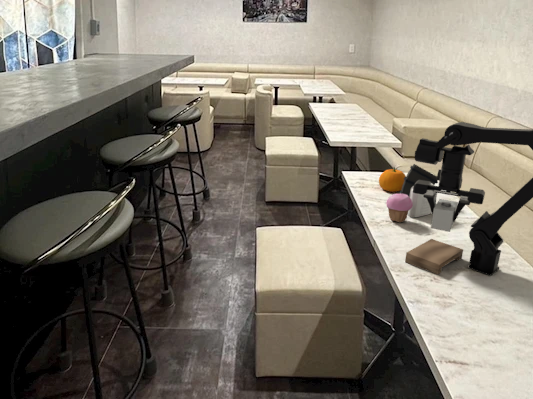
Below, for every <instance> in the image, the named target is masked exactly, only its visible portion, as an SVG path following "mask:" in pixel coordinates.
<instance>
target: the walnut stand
mask: <svg viewBox="0 0 533 399" xmlns="http://www.w3.org/2000/svg"><path fill="white" fill-rule="evenodd" d="M463 254H464V249H463V248H460V247H457V246H454V245H451V244H447V243H446V242H441V241H440V240H437V239H433V238H431V239H429V240H426V241H425V242H424V243H421V244H419V245H418V246H416V247H415V248H412V249H411V250H408V251H407V252H406V253H405V263H407V264H409V265H412V266H415V267H417V268H420V269H422V270H425V271H427V272H430V273H432V274H436V275H439V274H441V273H442V270H443V267H445V266H447V265H448V264H450V263H452V262H453V261H454V260H455V261H458V262H459V261H461V260H462V258H463Z"/></svg>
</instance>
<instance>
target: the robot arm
mask: <svg viewBox="0 0 533 399" xmlns="http://www.w3.org/2000/svg"><path fill="white" fill-rule="evenodd" d="M418 142H419V143H418V144H417V146H416V149H415V151H414V161H415V162H417V163H422V164H423V163H424V164H427V165H428V164H430V165H434V166H436V165H437V164H438V163H441V166H440V167H441V169H438V171H437V175H436V176H437V180H438V181H439V182H438V185H434V186H433V185H431V182H430V181H424V180H418V181H417V182H416V183H415V184H414V187H413V193H416V194H422V195H424V196H423V197H424V198H427V200H428V203H429V205H430V208H431V215H432V217H433V211H434V207H435V206H436V204H437V197H438V194H443V195H447V196H454V197H455V196H456V197H459V200H458V201H457V202H458V205H457V208H456V211H455V214H454V218H453V222H454V223H455V222H456V220H457V218H458V216H459V215H460V213H461V211H462V210H463V209H464V207H465V206H470V205H471V204H477V205H483V203H484V199H485V196H486V192H485V190H484V189H479V188H474V187H473V188H472V187H470V189H469V190H462V184H463V172H464V167H465V160H466V156H471V155H474V153H475V150H474V149H473V148H472V147H471V145H472V144H479V143H483V144H484V143H485V144H502V145H514V146H516V145H520V146H528V147H529V148H530V149H531V150H532V151H533V129H528V128H510V127H509V128H508V127H485V126H481V125H478V124H474V123H470V122H466V121H465V122H464V121H461V122H455V123H453V124H451V125H449V126H447V128H446V129H445V131H444V135H443V136H442V137H441V138H440V139H438V140H433V139H432V140H431V139H428V138H424V137H423V138H420V139H419V141H418ZM449 145H451V146H452V147H447V146H449ZM464 145H465V146H464ZM441 161H442V162H441ZM532 199H533V177H532V178H530V179H529V180H528V181H527V182H526V183H525V184H523V186H522V187H521V188H520V189H519V190H517V191H516V192H515V193H514V194H513V195H512V196H511V197H509V198H508V200H506V201H505V202H504V203H503V204H502V205H501V206H500V207H499V208H498V209H497V210H495V211H494V212H492V213H489V212H488V211H487V210H486V211H485V212H484V213H483V214H482V215H481V216H480V217H479V218H477V219H476V220H475V221H474V222H472V224H471V225H470V227H471V228H470V229H469V232H468V235H469V239H470V240H471V242H472V243H473V249H472V250H471V251H470V256H469V262H468V263H469V265H468V266H467V268H468V269H470V270H474V271H477V272H479V273H482V274H485V275H488V276H492V275H494V274H495V273H496V272H497V271H499V270H500V266H499V262H500V257H501V254H502V253H501V252H502V250H501V249H499V248H500V247H501V245H502V244H503V242H504V239H503V238H502V236H501V235H500V234H499V230H501V228H502V227H503V225H504V224H505V223H506V222H507V221H508V220H509V219H510V218H512V217H513V216H514V215H515V214H516V213H517V212H519V210H520V209H522V208H523V207H524V206H525V205H526V204H528V203H529V202H530V201H531V200H532Z"/></svg>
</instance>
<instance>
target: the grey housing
mask: <svg viewBox="0 0 533 399" xmlns="http://www.w3.org/2000/svg"><path fill="white" fill-rule="evenodd" d="M458 202H459V201H454V200H448V199H443V198H439V199H438V200H437V201H436V206H435V207H434V211H433V216H432V218H431V226H430V229H434V230H437V231H438V230H439V231H444V232H447V233H448V232H449V233H450V232H451V230H452V228H453V225H454V223H455V222H453V218H454V214H455V211H456V208H457V205H458Z"/></svg>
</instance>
